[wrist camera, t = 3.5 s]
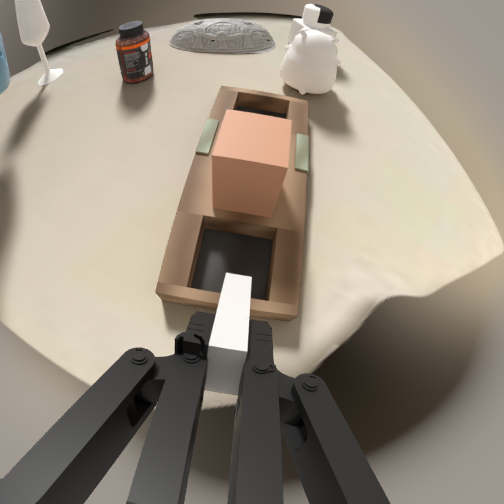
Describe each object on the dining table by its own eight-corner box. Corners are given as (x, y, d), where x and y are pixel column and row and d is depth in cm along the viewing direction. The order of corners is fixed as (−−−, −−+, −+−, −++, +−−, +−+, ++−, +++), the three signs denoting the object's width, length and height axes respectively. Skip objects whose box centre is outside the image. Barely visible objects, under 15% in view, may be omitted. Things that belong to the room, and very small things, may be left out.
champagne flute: (66, 72, 42) (43, -15, 20) (41, 89, 40) (11, 2, 18) (58, 66, 44) (37, -14, 22) (35, 81, 41) (8, 2, 19)
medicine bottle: (312, 43, 53) (324, 3, 42) (329, 57, 51) (343, 14, 40) (286, 43, 51) (296, 0, 40) (302, 57, 49) (315, 10, 38)
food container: (283, 56, 48) (286, 29, 42) (159, 60, 46) (156, 32, 40) (274, 36, 55) (276, 13, 49) (172, 38, 53) (170, 16, 47)
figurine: (328, 110, 42) (350, 52, 31) (271, 93, 42) (283, 32, 31) (331, 83, 46) (350, 33, 35) (282, 68, 46) (293, 16, 35)
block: (212, 207, 29) (211, 155, 21) (223, 163, 31) (226, 109, 24) (271, 217, 29) (288, 168, 22) (276, 172, 31) (291, 120, 24)
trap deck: (161, 299, 27) (154, 291, 24) (220, 100, 40) (221, 84, 37) (291, 321, 28) (300, 315, 25) (304, 115, 40) (309, 99, 37)
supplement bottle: (158, 75, 42) (153, 23, 31) (128, 88, 40) (117, 34, 30) (147, 64, 43) (141, 16, 33) (119, 76, 42) (109, 27, 31)
